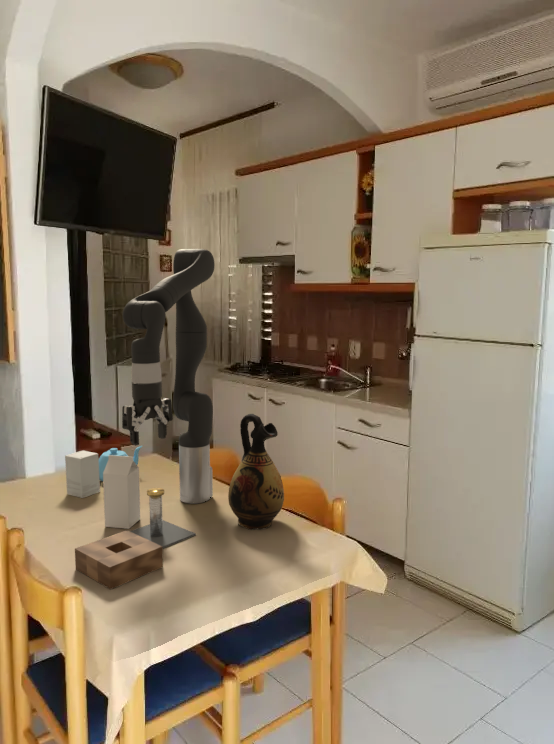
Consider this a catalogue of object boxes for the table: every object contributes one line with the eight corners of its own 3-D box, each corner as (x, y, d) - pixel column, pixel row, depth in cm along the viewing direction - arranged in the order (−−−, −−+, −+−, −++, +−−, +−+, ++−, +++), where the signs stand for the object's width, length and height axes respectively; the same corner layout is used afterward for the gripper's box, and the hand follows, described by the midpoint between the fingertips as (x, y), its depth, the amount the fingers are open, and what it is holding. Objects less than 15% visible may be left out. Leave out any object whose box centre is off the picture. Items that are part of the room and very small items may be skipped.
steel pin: (158, 529, 158) (157, 486, 157) (168, 534, 155) (167, 490, 154) (144, 534, 155) (143, 490, 153) (154, 539, 152) (153, 494, 151)
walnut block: (127, 549, 147) (126, 530, 147) (162, 566, 138) (162, 546, 137) (75, 569, 137) (74, 548, 136) (110, 589, 128) (109, 567, 127)
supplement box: (100, 492, 189) (99, 453, 187) (81, 498, 183) (80, 458, 181) (85, 487, 193) (83, 449, 191) (66, 494, 187) (64, 455, 185)
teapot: (108, 469, 212) (107, 441, 211) (146, 473, 208) (145, 444, 207) (83, 482, 198) (82, 452, 197) (123, 486, 194) (122, 456, 193)
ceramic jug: (295, 522, 165) (296, 416, 161) (256, 539, 154) (256, 425, 150) (252, 506, 177) (252, 407, 173) (213, 521, 165) (211, 415, 161)
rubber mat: (162, 521, 165) (162, 519, 165) (195, 535, 156) (195, 533, 156) (119, 536, 155) (118, 535, 155) (152, 552, 146) (152, 550, 146)
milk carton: (129, 529, 160) (127, 460, 157) (104, 527, 161) (102, 458, 158) (140, 519, 167) (138, 453, 164) (116, 517, 168) (114, 451, 165)
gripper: (159, 375, 160) (161, 433, 163) (114, 381, 149) (117, 444, 152) (177, 377, 155) (179, 438, 158) (132, 385, 145) (135, 450, 147)
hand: (148, 441), depth 155 cm, fingers open, 8 cm apart
